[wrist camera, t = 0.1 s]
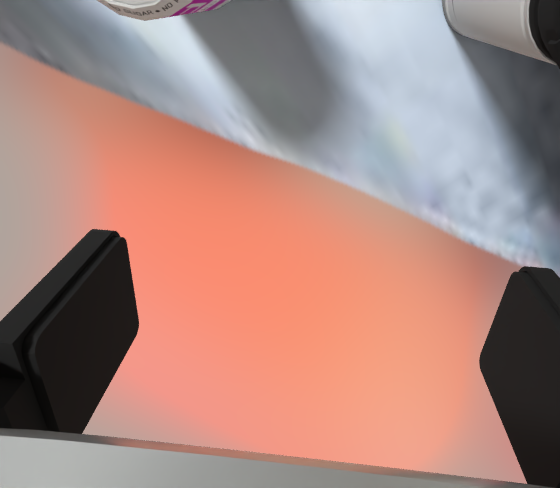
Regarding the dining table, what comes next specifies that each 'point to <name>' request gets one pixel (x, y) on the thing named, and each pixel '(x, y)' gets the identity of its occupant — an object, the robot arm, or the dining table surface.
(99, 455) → the robot arm
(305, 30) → the dining table surface
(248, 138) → the dining table surface
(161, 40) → the dining table surface
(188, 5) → the supplement can
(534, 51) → the travel mug
